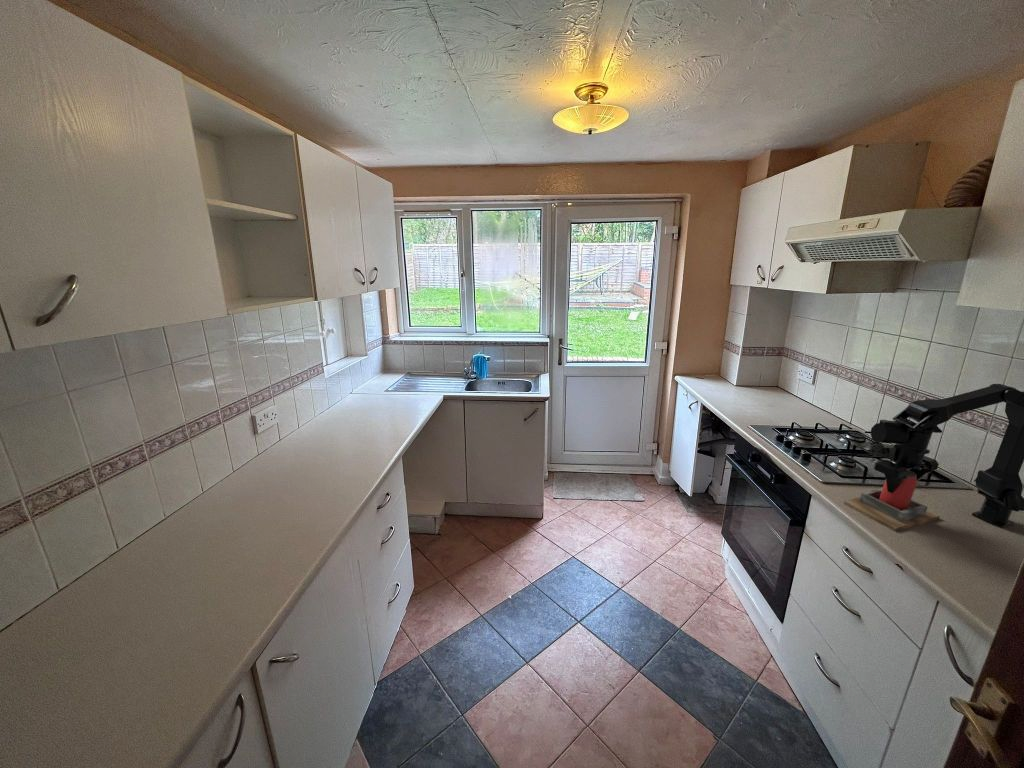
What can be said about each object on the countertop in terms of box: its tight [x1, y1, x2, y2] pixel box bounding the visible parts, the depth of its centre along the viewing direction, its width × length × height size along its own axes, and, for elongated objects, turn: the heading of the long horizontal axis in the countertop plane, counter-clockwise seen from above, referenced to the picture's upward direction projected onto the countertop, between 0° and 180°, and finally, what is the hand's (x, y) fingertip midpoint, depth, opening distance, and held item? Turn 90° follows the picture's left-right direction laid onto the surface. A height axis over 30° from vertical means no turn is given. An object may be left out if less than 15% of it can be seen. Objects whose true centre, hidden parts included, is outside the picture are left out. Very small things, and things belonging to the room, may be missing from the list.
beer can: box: [879, 470, 918, 511], centre depth 121 cm, size 7×7×12 cm
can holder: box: [843, 487, 941, 532], centre depth 122 cm, size 20×14×4 cm
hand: (897, 490), depth 121 cm, fingers closed on beer can, 7 cm apart
